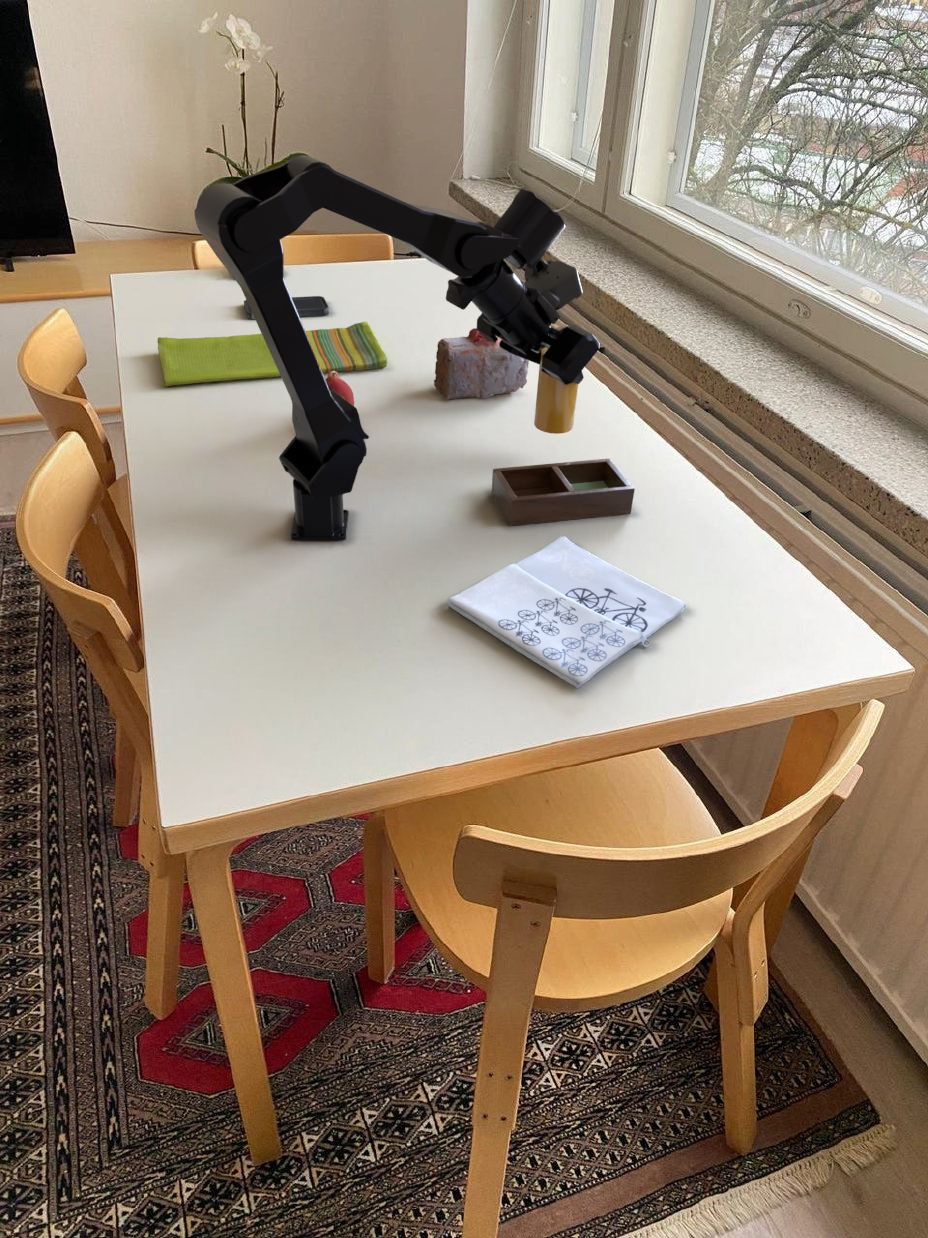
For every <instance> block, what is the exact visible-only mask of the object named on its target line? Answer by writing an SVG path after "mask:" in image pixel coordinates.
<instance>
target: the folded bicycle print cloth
mask: <svg viewBox="0 0 928 1238" xmlns="http://www.w3.org/2000/svg"><path fill="white" fill-rule="evenodd" d="M444 603H445V605H447V606H448V607H449V608H450V609H452V610H453V611H455V612H457V613H458V614H459V615H461V616H463V617H465V618H466V619H468V620H469V621H471V622H472V623H474V624H475V625H477V626H478V627H480V628H482V629H483V630H484V631H486V632H488V633H489V634H491V635H492V636H494V637H495V638H497V639H498V640H500V641H501V642H503V643H504V644H506V645H507V646H509V647H510V648H512V649H514V650H515V651H517V652H518V653H519V654H521V655H523V656H524V657H526V658H528V659H529V660H531V661H532V662H534V663H536V664H537V665H539V666H541V668H544V669H546V670H547V671H549V672H550V673H551V674H554V675H555V676H557V677H558V678H559V679H561V680H563V681H564V682H566V683H568V684H569V685H571V686H573V687H575V688H576V689H579V688H581V687H582V686H583V685H584V684H585V683H587V682H588V681H589V680H590V679H592V678H594V676H596V675H597V674H598V673H599V672H600V671H601V670H603V669H604V668H606V667H607V666H610V664H612V663H613V662H615V661H616V660H617V659H619V658H620V657H621V656H623V655H625V654H626V653H627V652H629V651H630V650H631V649H633V648H634V647H636V646H637V645H638V644H640V643H641V645H642V646H643V647H644V648H648V647H649V646H650V645H651V643H650V640H649V639H648V638H649V637H650V636H651V635H653V634H654V633H656V632H657V631H658V630H660V629H661V628H663V626H665V625H666V624H667V623H670V622H671V621H672V620H674V619H675V618H676V617H677V616H679V615H680V614H681V613H682V612H683V611H684V610H685V608H686V606H687V603H686V602H685V601H684V600H683V599H681V598H677V597H674V596H673V595H670V594H667V593H666V592H664V591H662V590H659V589H658V588H656V587H654V586H652V585H650V584H648V583H646V582H645V581H643V580H641V579H639V578H637V577H635V576H633V575H631V574H629V573H627V572H625V571H624V570H622V569H620V568H618V567H616V566H615V565H613V564H610V563H609V562H606V561H605V560H603V559H601V558H599V557H597V556H596V555H594V554H593V553H592V552H591V553H590V552H589V551H587V549H584V548H583V547H581V546H579V545H578V544H576V543H574V542H572V541H570V539H568V538H567V537H566V536H565V535H562V536H559V537H558V538H556V539H555V540H554V541H553V542H551V543H549V544H548V545H546V546H544V547H543V548H541V549H540V550H538V551H537V552H535V553H532V554H531V555H529V556H526V557H525V558H523V559H521V560H519V561H517V562H515V563H510V564H507V565H505V566H504V567H503V568H501V569H500V570H498V571H496V572H494V573H492V574H491V575H489V576H487V577H485V578H484V579H482V580H481V581H479V582H478V583H476V584H474V585H472V586H471V587H468V588H466V589H464V590H462V591H460V592H459V593H458V594H456V595H452V596H450V597H448V598H447V599H446V601H445V602H444ZM645 642H646V643H647V645H645Z"/></svg>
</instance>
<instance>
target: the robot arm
mask: <svg viewBox="0 0 928 1238" xmlns="http://www.w3.org/2000/svg"><path fill="white" fill-rule="evenodd" d="M321 209H324V210H327V211H330V212H332V213H335V214H337V215H339V216H342V217H344V218H346V219H349V220H351V221H353V222H356V223H358V224H361V225H363V226H365V227H367V228H370V229H373V230H376V231H377V232H380V233H382V234H384V235H387V236H390V237H392V238H395V239H397V240H400V241H401V242H402V243H404V244H405V245H406V246H407V247H409V249H411V250H413V251H414V252H415V253H417V254H418V255H420V256H421V257H422V258H424V259H425V260H427V261H429V262H430V263H432V264H434V265H435V266H438V267H440V268H442V269H444V270H445V271H448V272H449V273H452V274H453V275H455V276H456V277H455V278H453V279H451V278H450V279H448V280H447V286H448V287H447V290H446V294H445V301H446V302H448V303H450V304H452V305H453V306H454V307H456V308H459V309H460V310H462V311H463V310H466V309H467V307H468V306H469V305H470V304H471V302H472V304H474V305H475V307H476V308H477V309H478V310H479V311H480V312H481V314H480V315H479V316H478V317H477V319H476V328H477V330H478V331H479V333H480V334H481V335H482V336H483V337H484V338H486V339H487V340H489V341H491V342H493V343H494V344H496V342H497V341H498V338H497V337H499V338H500V339H502V340H501V341H500V343H499V346H500V347H501V348H502V349H504V350H506V351H508V352H509V353H511V354H514V355H516V356H519V357H521V358H524V359H526V360H529V362H531V363H534V364H537V365H539V366H540V356H541V350H542V349H543V348H545V347H546V348H548V350H547V351H546V353H545V354H544V355H543V357H542V370H541V371H542V372H544V373H546V374H547V375H549V376H551V377H552V378H555V379H557V380H558V381H560V382H562V383H563V384H565V385H567V384H570V383H575V384H578V385H579V384H581V382H582V381H583V380H584V379H585V378H584V373H583V370H584V368H585V367H586V366H588V363H589V362H590V361H591V360H592V358H593V357H594V356H595V354H597V352H598V351H600V348H601V347H600V346H601V345H600V341H599V340H598V339H597V338H596V336H595V335H594V333H591V332H589V331H588V330H585V329H584V328H581V327H579V326H577V325H575V324H573V325H568V326H567V325H566V326H564V327H565V328H562V329H561V330H557V329H556V327H553V326H551V325H555V324H556V323H557V322H558V320H559V319H560V318H561V315H560V313H559V312H558V311H560V310H561V309H562V308H563V307H565V306H566V305H568V304H569V303H570V302H572V301H573V300H575V299H576V300H577V299H579V298H580V297H582V296H583V293H584V292H583V288H582V283H581V280H580V276H579V272H578V269H577V268H576V267H575V266H573V265H570V264H567V263H566V262H563V261H561V260H556V261H554V260H551V259H549V260H547V262H546V261H545V260H544V259H542V258H543V257H544V256H545V254H546V253H547V252H548V251H549V249H550V248H551V247H552V246H553V244H554V243H555V241H557V239H558V238H559V237H560V235H561V234H562V233H563V231H565V229H566V224H565V221H564V220H563V218H562V217H561V215H560V214H559V212H557V211H554V209H552V208H551V207H550V206H549V205H547V203H546V202H544V201H543V200H541V199H540V198H539V197H537V196H536V194H535V193H534V191H533V190H529V189H527V188H523V187H522V188H520V190H519V191H518V192H517V193H516V194H515V196H514V198H513V200H512V201H511V204H510V205H509V206H508V207H507V209H506V210H505V211H504V212H503V214H502V215H501V217H500V218H499V219H498V220H497V221H496V223H495V224H494V225H493V226H492V225H490V224H487V223H484V222H482V221H474V220H472V219H469V218H466V217H465V216H463V215H460V214H458V213H455V212H453V211H450V210H446V209H441V208H437V207H432V206H426V205H418V204H413V203H407V202H406V201H403V200H401V199H399V198H397V197H394V196H391V195H390V194H387V193H385V192H383V191H381V190H379V189H376V188H374V187H372V186H370V185H368V184H365V183H363V182H361V181H359V180H356V179H355V178H352V177H350V176H347V175H346V174H344V173H341V172H338V171H336V170H335V169H334V168H332V166H330V165H329V164H328V163H326V162H324V161H321V160H319V159H317V158H314V157H312V156H310V155H305V154H301V155H297V156H295V157H293V158H291V159H289V160H287V161H285V162H283V163H282V164H280V165H278V166H275V167H271V168H268V169H265V170H262V171H259V172H256V173H253V174H249V175H247V176H244V177H242V178H240V179H238V180H236V181H235V182H232V183H224V182H223V183H222V182H221V183H220V182H219V183H216V184H213V185H211V186H209V187H207V189H205V190H204V191H203V192H202V194H201V195H200V196H199V198H198V200H197V203H196V206H195V208H194V221H195V223H196V227H197V230H198V231H199V233H200V234H201V235H202V237H203V238H204V240H205V241H206V243H207V244H208V246H209V247H210V248H211V250H212V252H213V253H214V254H215V256H216V257H217V259H218V260H219V261H220V262H221V264H222V265H223V266H224V268H225V269H226V270H227V271H228V273H229V274H230V275H231V277H232V278H233V279H234V280H235V282H236V283H237V285H238V286H239V288H240V289H241V291H242V293H243V295H244V298H245V300H247V302H248V304H249V307H250V309H251V311H252V313H253V316H254V318H255V319H254V320H255V322H256V324H257V327H258V328H259V331H260V334H262V335H263V338H264V340H265V342H266V344H267V347H268V349H269V351H270V353H271V355H272V358H273V360H274V362H275V364H276V366H277V369H278V371H279V373H280V375H281V376H280V378H281V380H282V383H283V385H284V387H285V389H286V391H287V393H288V396H289V398H290V400H291V405H292V406H291V411H292V412H291V422H292V425H293V429H294V434H295V435H294V437H293V438H292V440H291V441H289V443H288V444H287V446H286V447H285V448H284V449H283V451H282V452H281V454H279V456H278V460H279V462H280V464H281V465H282V468H283V470H284V472H286V473H288V474H289V475H290V476H291V478H293V480H292V488H293V489H292V490H293V501H294V514H293V520H292V526H291V530H290V539H291V540H292V541H345V540H347V535H348V525H349V515H350V514H349V513H350V512H349V510H348V509H344V495H345V494H350V493H351V492H353V488H354V484H355V481H356V478H357V475H358V471H359V468H360V466H361V464H363V461H364V459H365V457H366V456H367V451H368V450H367V444H366V441H365V440H368V439H369V438H370V436H369V435H368V434H367V433H366V432H365V430H364V429H363V426H362V423H361V418H360V414H359V411H358V409H357V407H356V406H355V405H354V406H353V405H352V404H351V403H349V402H348V401H347V400H346V399H344V398H343V397H342V396H341V395H339V394H338V393H337V392H336V391H334V390H332V391H331V392H330V390H329V387H328V385H327V383H326V380H325V379H326V378H325V374H324V373H322V370H321V368H320V366H319V363H318V361H317V358H316V356H315V353H314V351H313V349H312V346H311V344H310V341H309V339H308V336H307V334H306V332H305V331H306V329H305V327H304V325H303V322H302V320H301V317H299V315H298V312H297V310H296V307H295V305H294V302H293V300H292V298H291V297H292V296H291V293H290V290H289V288H288V286H287V283H286V281H285V274H284V271H285V269H284V267H285V266H284V265H285V263H284V262H285V260H284V259H285V256H284V255H285V253H284V248H283V242H282V239H284V238H286V237H287V236H290V235H291V234H293V233H294V232H296V231H297V230H298V229H299V228H301V226H302V225H303V224H304V223H305V222H306V221H307V220H308V219H309V218H311V216H312V215H313V214H314V213H315V212H318V211H319V210H321ZM508 263H509V264H510V265H511V266H512V267H514V268H515V269H517V270H519V271H521V270H522V269H523V268H524V275H523V276H524V280H525V281H524V282H523V281H522V280H521V279H520V278H519V276H518V275H517V274H516V273H515V272H514V270H513V269H512V268H511V267H510V265H508ZM496 336H497V337H496ZM556 338H557V339H556Z"/></svg>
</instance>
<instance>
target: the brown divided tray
mask: <svg viewBox="0 0 928 1238" xmlns="http://www.w3.org/2000/svg"><path fill="white" fill-rule="evenodd" d="M491 476H492V477H491V491H490V493H491V496H492V497H493V499H494V501H495V502H496V504H497V506H498V507H499V509H500V511H501V513H502V515H503V516H504V517H505V519H506V521H507V523H508V524H509V527H515V526H525V525H535V524H541V523H542V524H545V523H553V522H564V521H573V520H582V519H593V518H602V517H612V516H621V515H630V514H631V513H632V507H633V502H634V495H635V490H636V488H635V487H634V485H632V483H630V481H629V480H628V479H627V478H626V477H625V475H624V474H623V472H621V471H620V469H619V468H618V467H617V466H616V465H615V463H614V462H613V461H612V460H611V458H601V459H600V458H599V459H588V460H577V461H576V460H575V461H565V462H553V463H542V464H533V465H520V466H508V467H497V468H496V467H495V468H493V469H492V475H491Z"/></svg>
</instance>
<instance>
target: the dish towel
mask: <svg viewBox="0 0 928 1238" xmlns="http://www.w3.org/2000/svg"><path fill="white" fill-rule="evenodd" d="M305 332H306V334H307V336H308V339H309V341H310V344H311V346H312V349H313V351H314V353H315V356H316V358H317V361H318V363H319V366H320V368H321V370H322V373H323V374H329V373H330V372H331V371H336V372H337V373H339V372H350V371H351V372H352V371H360V370H361V371H362V370H372V369H373V370H374V369H377V368H386V367H388V357H387V354H386V352H385V350H384V349H383V347H382V345H381V343H380V342H379V340H378V338H377V336H376V334H375V331H374V330H373V328H372V326H371V325H370V324H369V322H368V321H361V322H357V323H354V324H351V325H349V326H347V327H335V328H323V329H321V328H320V329H310V330H305ZM157 350H158V356H159V361H160V364H161V371H162V375H163V381H164V385H165V386H164V387H171V386H178V385H192V384H199V383H211V382H223V381H233V380H248V379H249V380H250V379H251V380H252V379H263V378H272V377H273V378H275V377H281V375H280V373H279V371H278V369H277V366H276V364H275V362H274V360H273V358H272V355H271V353H270V351H269V349H268V347H267V344H266V342H265V340H264V338H263V335H262V333H254V334H252V333H251V334H241V335H240V334H239V335H230V336H212V337H211V336H210V337H209V336H208V337H207V336H206V337H191V338H190V337H189V338H188V337H187V338H185V337H183V338H176V337H167V336H166V337H158V338H157Z"/></svg>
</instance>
